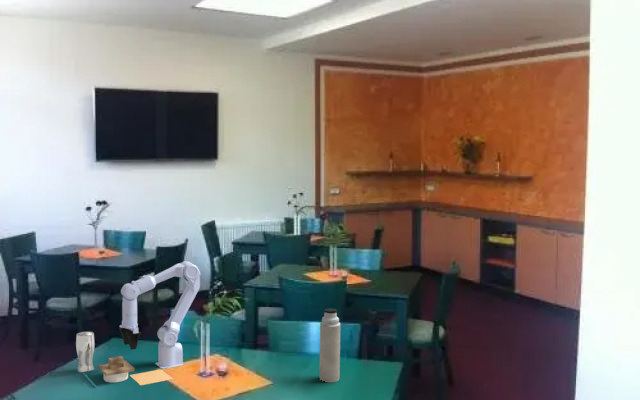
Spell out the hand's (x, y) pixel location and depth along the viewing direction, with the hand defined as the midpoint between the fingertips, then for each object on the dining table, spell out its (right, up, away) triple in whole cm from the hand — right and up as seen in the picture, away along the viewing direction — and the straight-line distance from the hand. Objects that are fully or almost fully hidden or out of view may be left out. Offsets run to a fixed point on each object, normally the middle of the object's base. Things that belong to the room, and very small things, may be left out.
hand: (130, 346), depth 263 cm
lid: (-3, -7, -10) cm, 12 cm away
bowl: (-3, -11, -9) cm, 15 cm away
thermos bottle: (+81, -12, -5) cm, 82 cm away
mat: (+11, -11, -8) cm, 17 cm away
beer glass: (-18, -10, 0) cm, 21 cm away
